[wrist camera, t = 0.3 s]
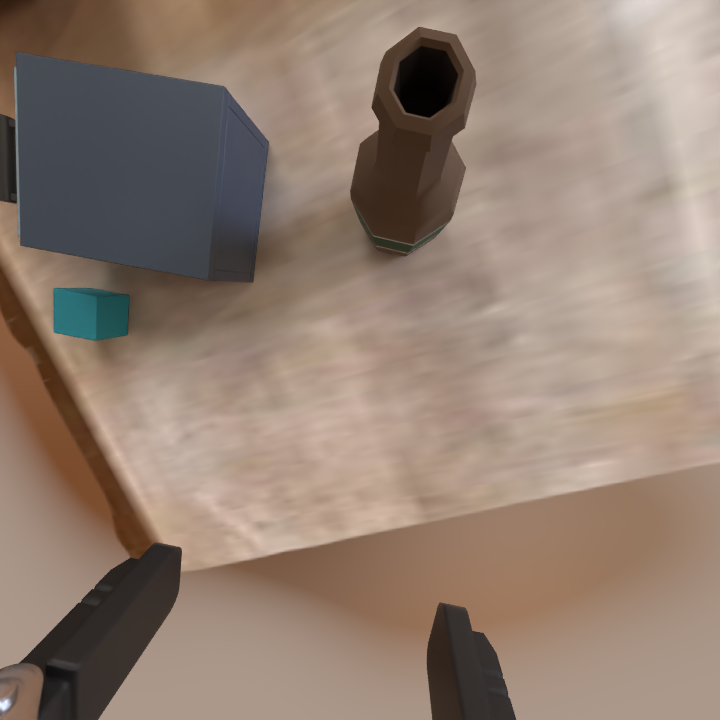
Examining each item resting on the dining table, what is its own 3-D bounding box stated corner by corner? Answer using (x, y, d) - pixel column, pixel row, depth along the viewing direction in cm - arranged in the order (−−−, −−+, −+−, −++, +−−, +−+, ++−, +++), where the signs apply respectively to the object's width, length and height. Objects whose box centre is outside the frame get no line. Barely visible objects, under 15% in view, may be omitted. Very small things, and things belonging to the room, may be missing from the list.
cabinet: (111, 256, 38) (20, 245, 29) (115, 115, 35) (15, 51, 26) (253, 282, 38) (207, 280, 28) (268, 141, 35) (224, 85, 25)
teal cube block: (90, 288, 39) (53, 288, 35) (129, 295, 39) (96, 296, 35) (89, 327, 40) (53, 332, 36) (127, 335, 40) (95, 341, 36)
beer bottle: (367, 264, 36) (334, 221, 13) (355, 184, 35) (292, -26, 12) (443, 250, 36) (553, 179, 12) (433, 168, 34) (537, -92, 11)
